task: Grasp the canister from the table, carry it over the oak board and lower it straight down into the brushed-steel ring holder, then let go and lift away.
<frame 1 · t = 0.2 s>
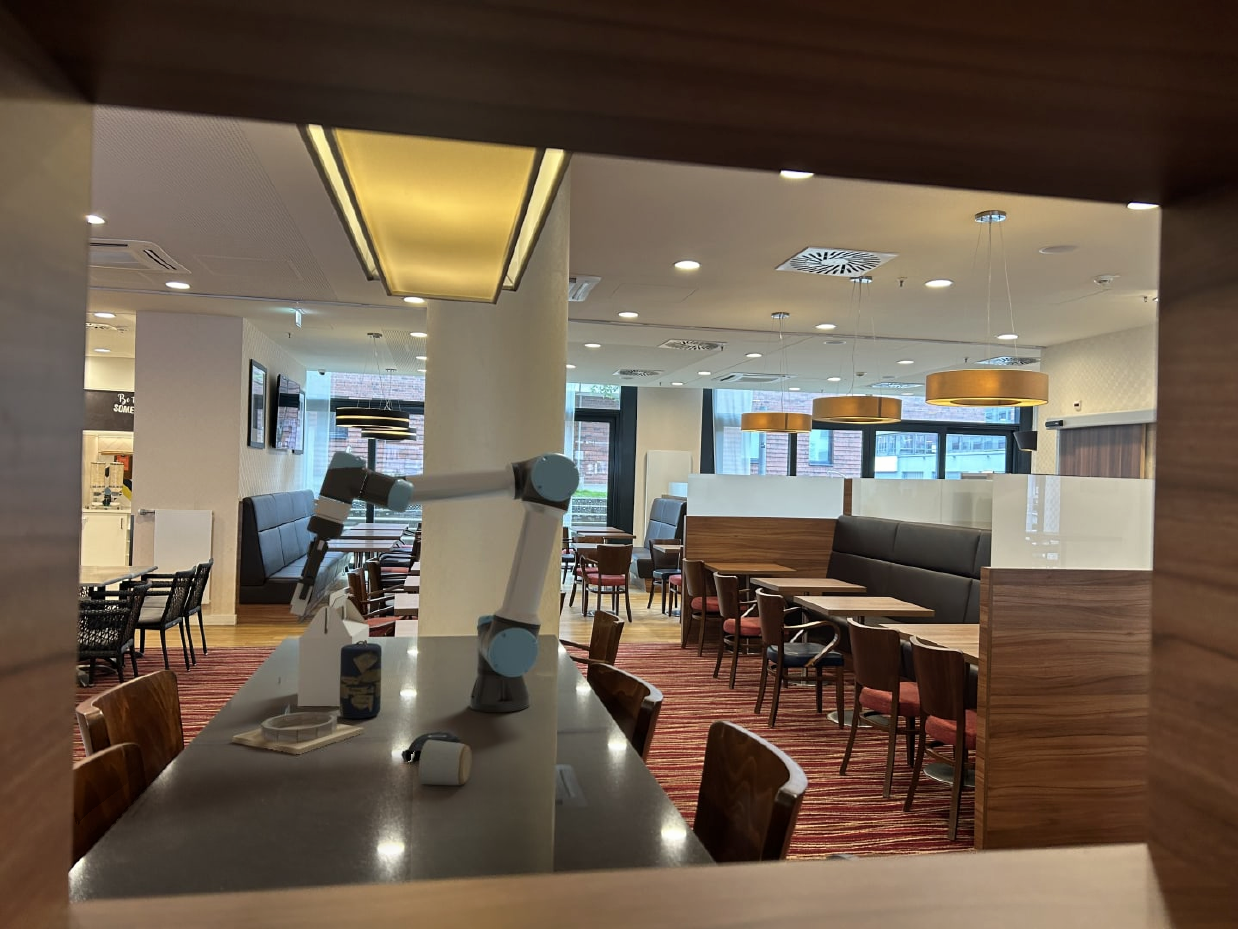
hand: (296, 610, 183), 27 cm above the table, tool tilted 20°, fingers open, 13 cm apart
ring holder board: (299, 737, 180), on the table
canister: (360, 717, 198), on the table
ceramic mug: (446, 782, 151), on the table
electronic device: (432, 755, 169), on the table
gable box: (334, 698, 219), on the table
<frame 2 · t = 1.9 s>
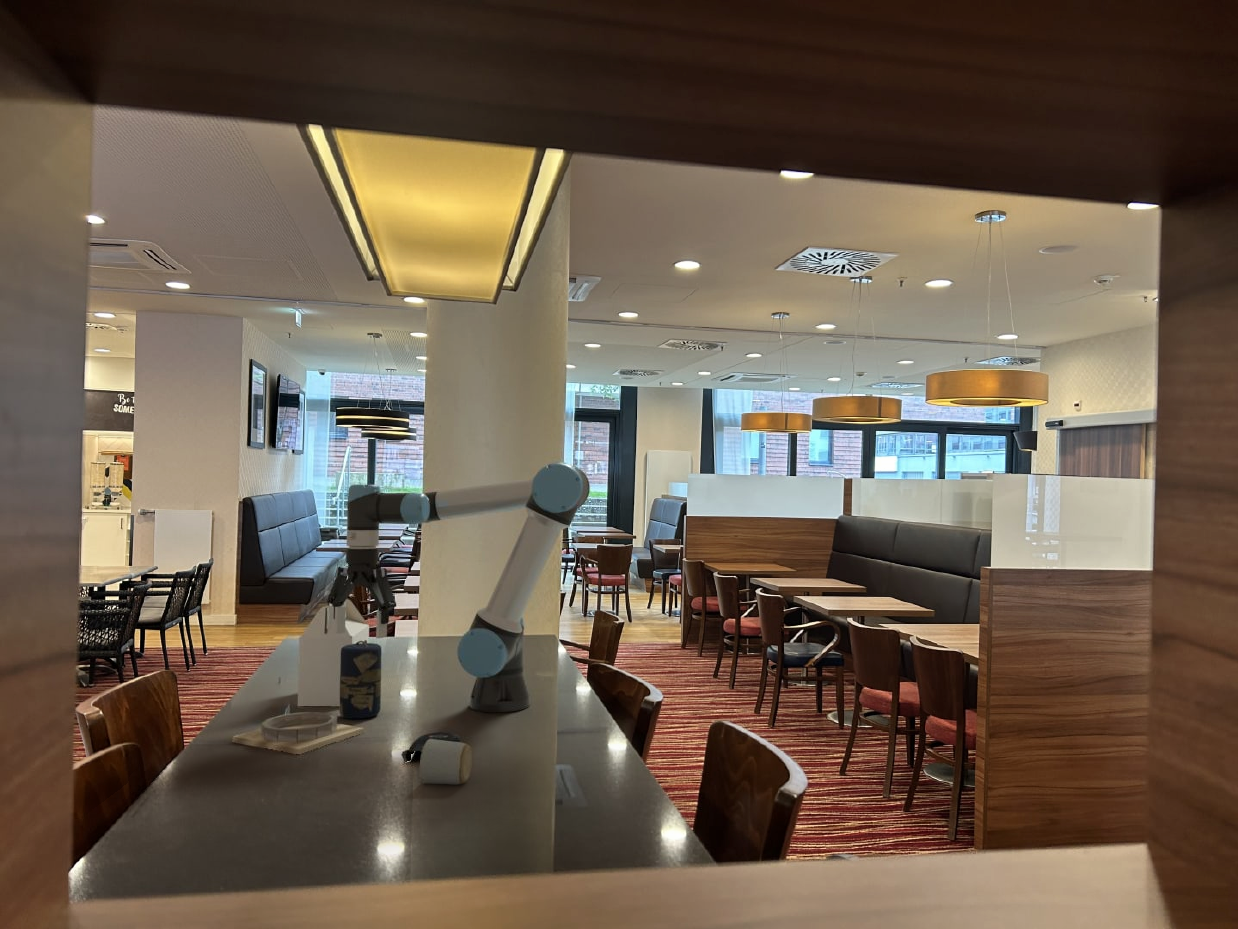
hand: (360, 635, 199), 19 cm above the table, tool pointing down, fingers open, 13 cm apart
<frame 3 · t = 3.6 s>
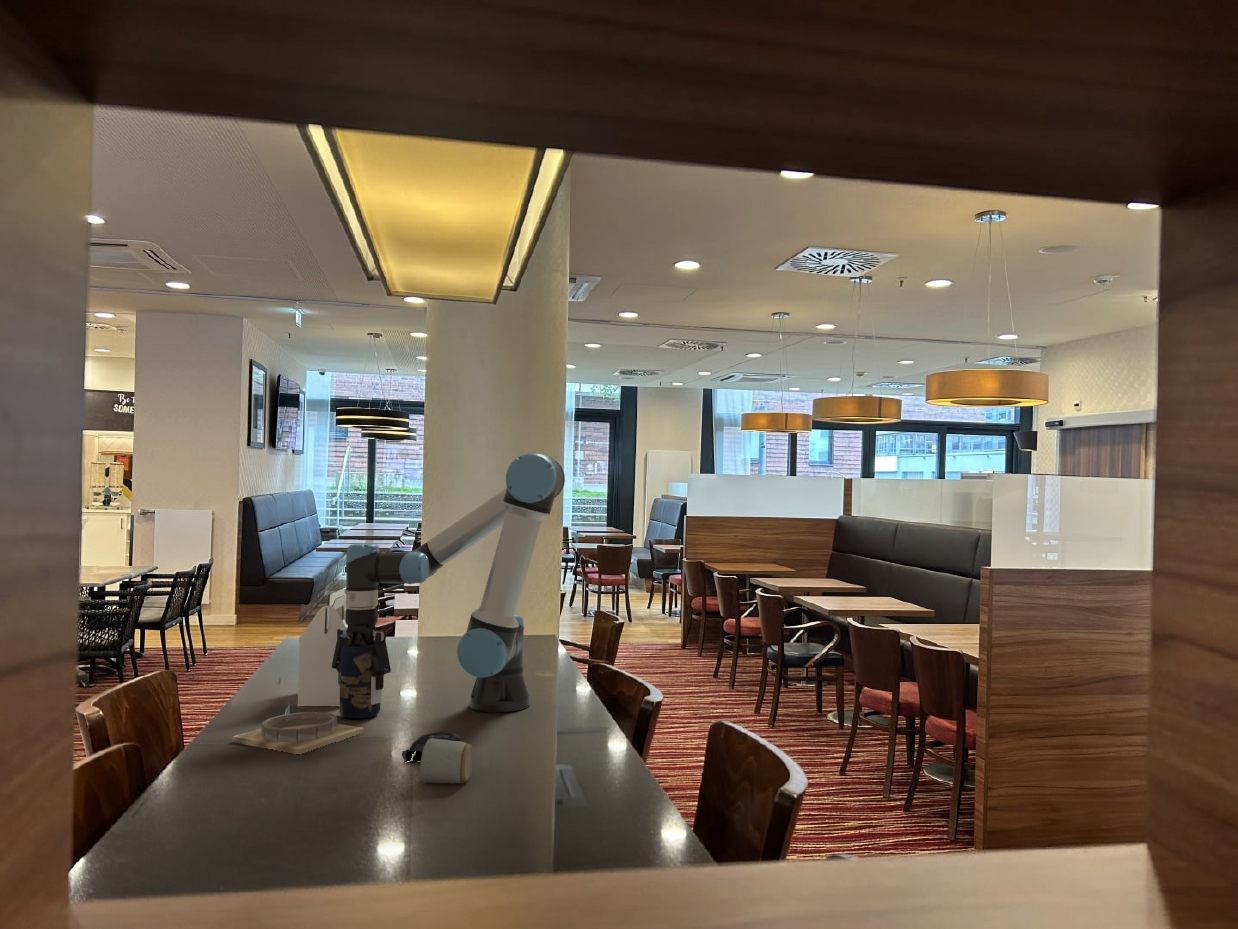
hand: (360, 701, 199), 4 cm above the table, tool pointing down, fingers closed on canister, 9 cm apart
canister: (360, 717, 198), on the table, touching gripper
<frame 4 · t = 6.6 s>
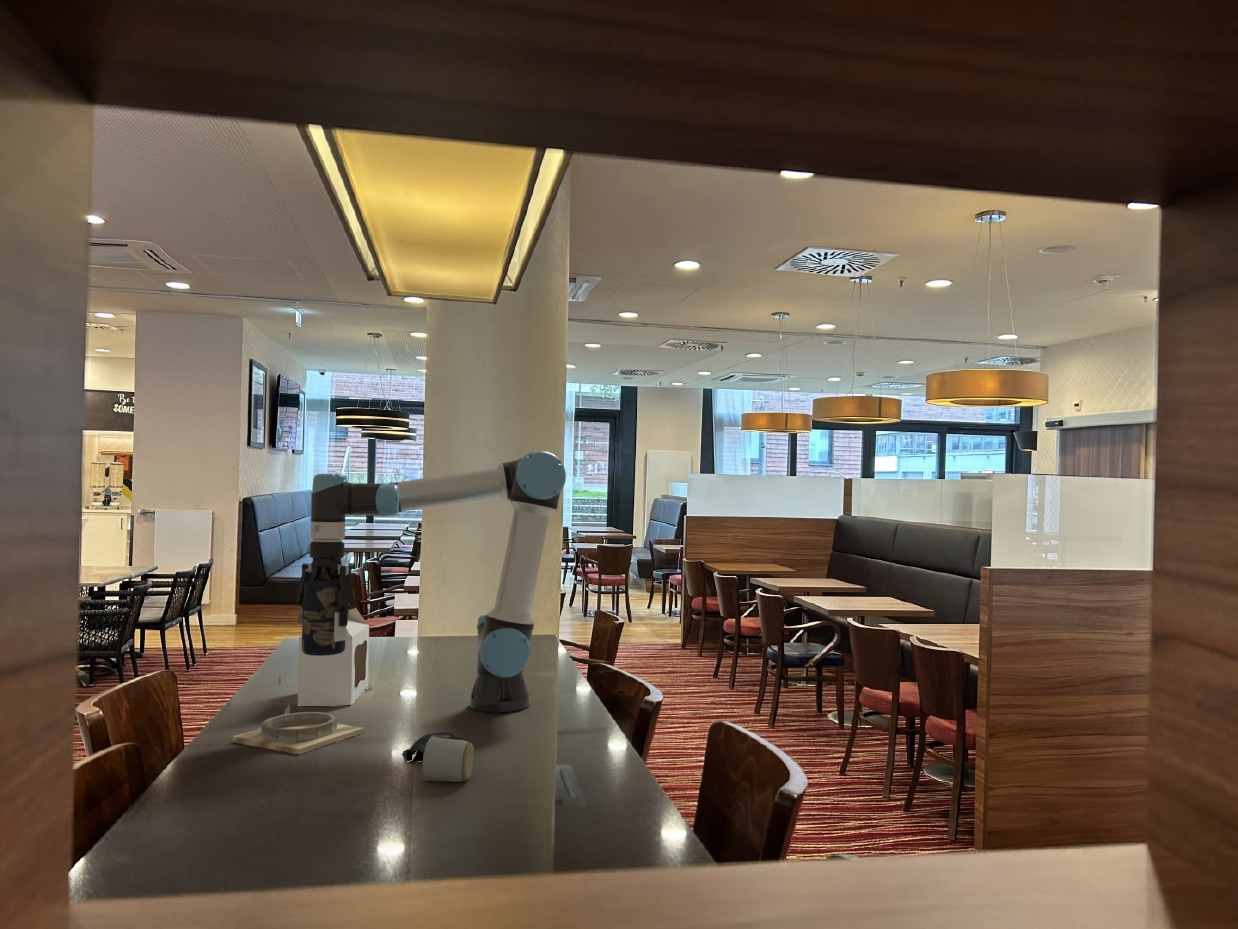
hand: (323, 638, 188), 20 cm above the table, tool pointing down, fingers closed on canister, 9 cm apart
canister: (323, 655, 188), point 16 cm above the table, touching gripper
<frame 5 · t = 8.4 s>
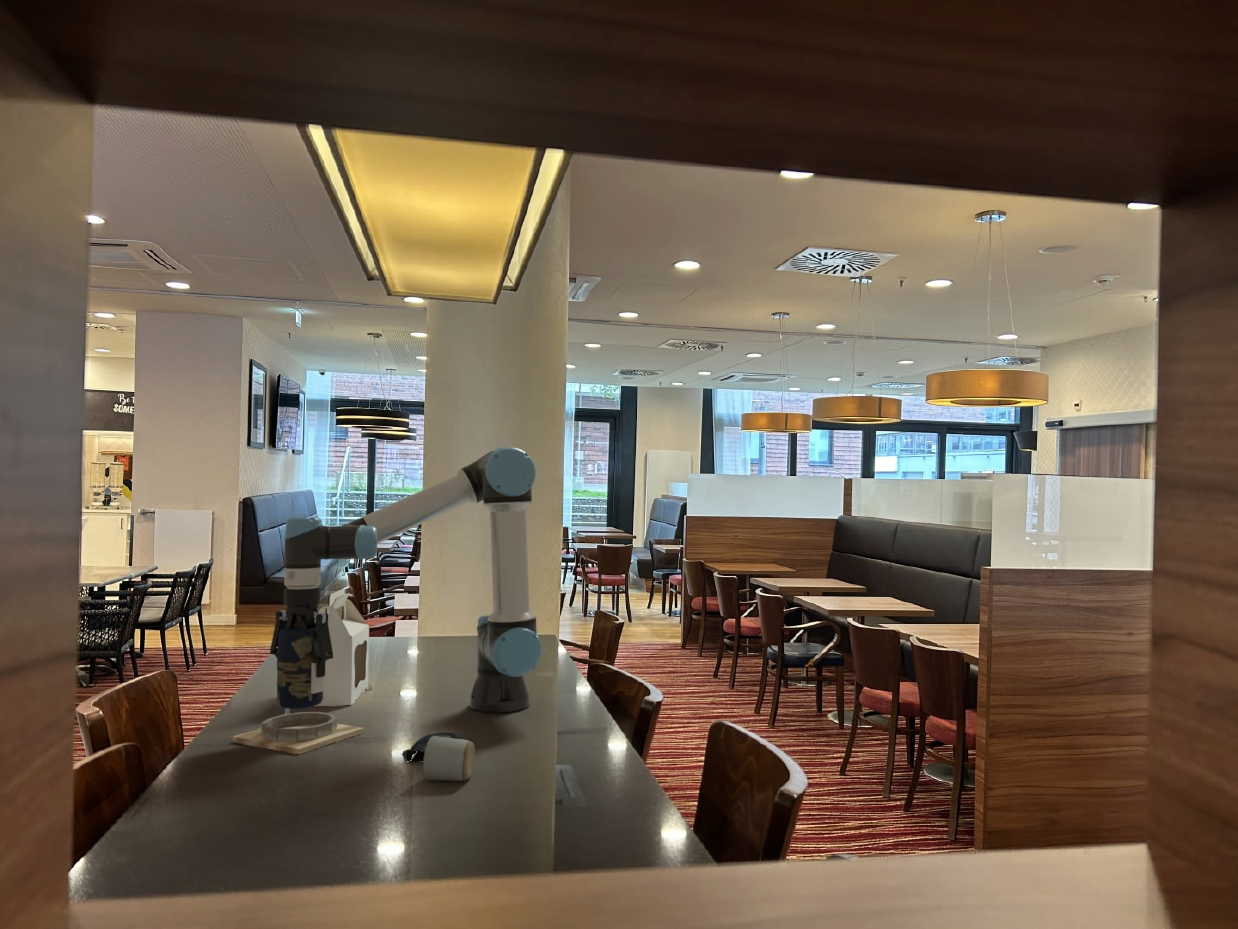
hand: (300, 689, 180), 10 cm above the table, tool pointing down, fingers closed on canister, 9 cm apart
canister: (300, 707, 180), point 7 cm above the table, touching gripper
when the fingers open (7 cm above the table, at t = 9.7 s): canister drops 2 cm, resting on ring holder board.
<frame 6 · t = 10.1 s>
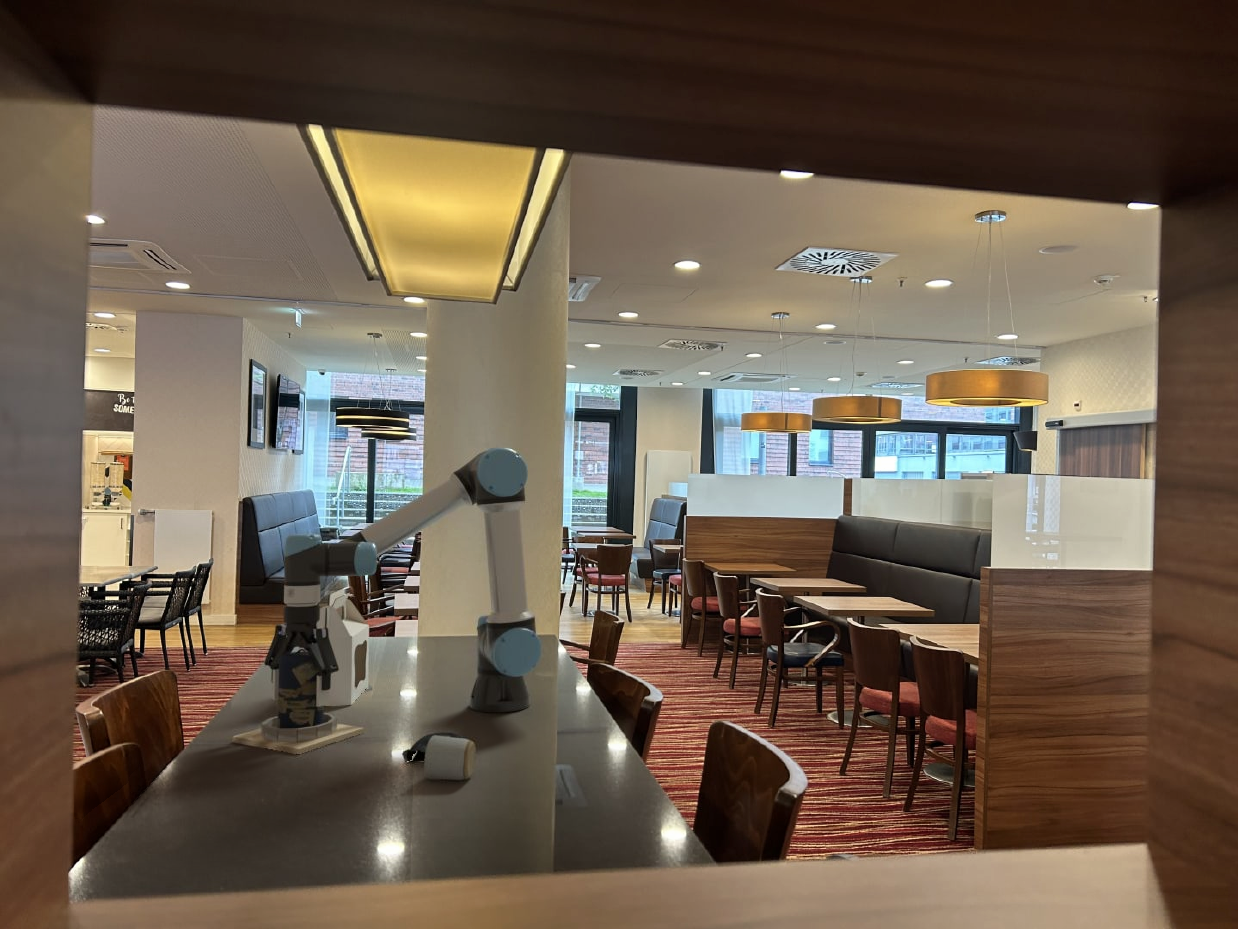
hand: (300, 702, 180), 8 cm above the table, tool pointing down, fingers open, 13 cm apart
canister: (300, 733, 180), point 1 cm above the table, touching ring holder board
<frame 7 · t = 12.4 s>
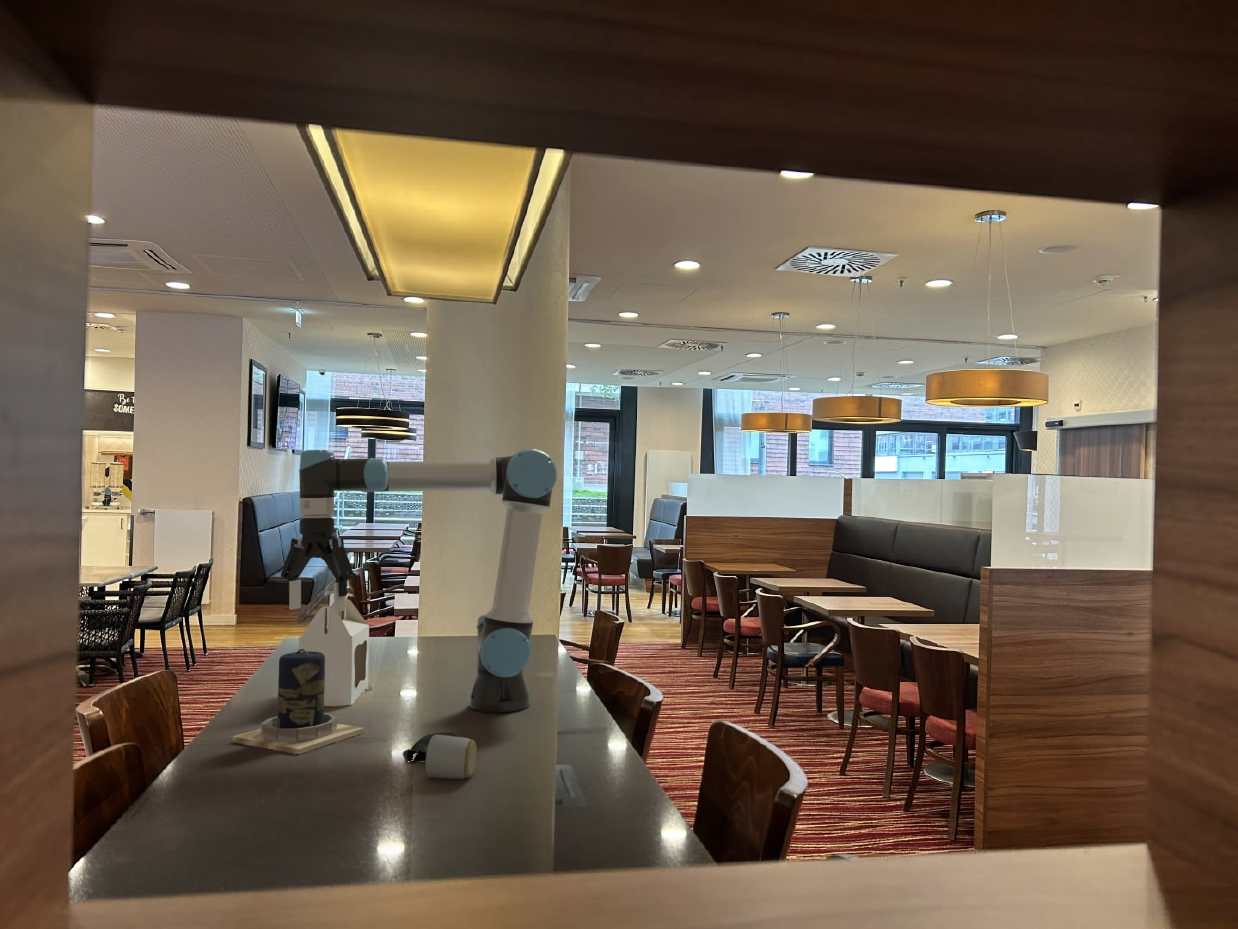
hand: (317, 610, 188), 27 cm above the table, tool pointing down, fingers open, 13 cm apart
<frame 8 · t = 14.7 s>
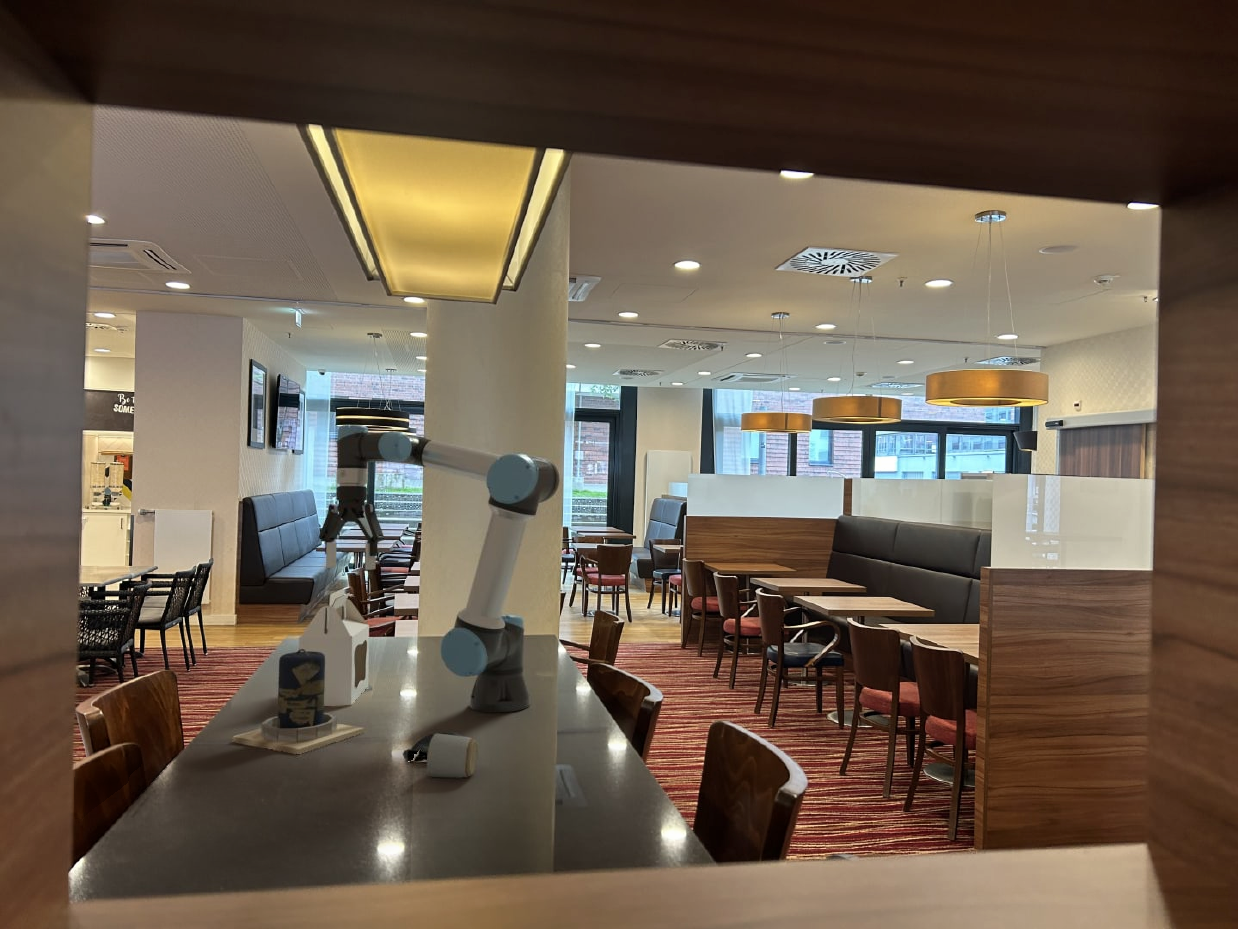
hand: (350, 568, 210), 35 cm above the table, tool pointing down, fingers open, 13 cm apart
at the end: canister 0.3 cm off-centre on the ring holder board, point 1.0 cm above the ring holder board's base; canister tilted 0°; the gripper is holding nothing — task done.
